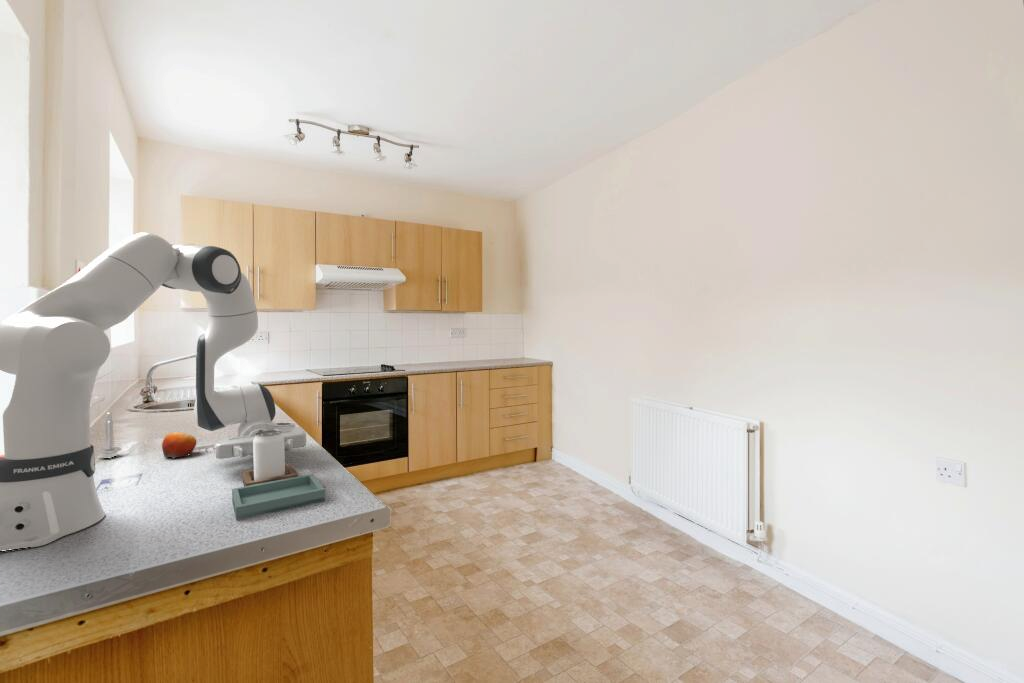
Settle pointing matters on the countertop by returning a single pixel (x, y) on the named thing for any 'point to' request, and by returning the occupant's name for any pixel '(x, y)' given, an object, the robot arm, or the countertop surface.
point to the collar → (249, 478)
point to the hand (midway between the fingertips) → (266, 450)
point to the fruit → (178, 444)
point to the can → (268, 454)
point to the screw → (109, 438)
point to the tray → (276, 496)
